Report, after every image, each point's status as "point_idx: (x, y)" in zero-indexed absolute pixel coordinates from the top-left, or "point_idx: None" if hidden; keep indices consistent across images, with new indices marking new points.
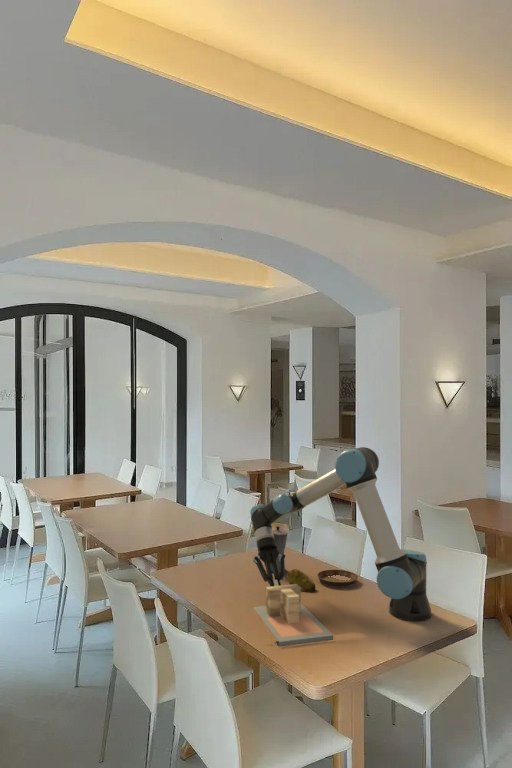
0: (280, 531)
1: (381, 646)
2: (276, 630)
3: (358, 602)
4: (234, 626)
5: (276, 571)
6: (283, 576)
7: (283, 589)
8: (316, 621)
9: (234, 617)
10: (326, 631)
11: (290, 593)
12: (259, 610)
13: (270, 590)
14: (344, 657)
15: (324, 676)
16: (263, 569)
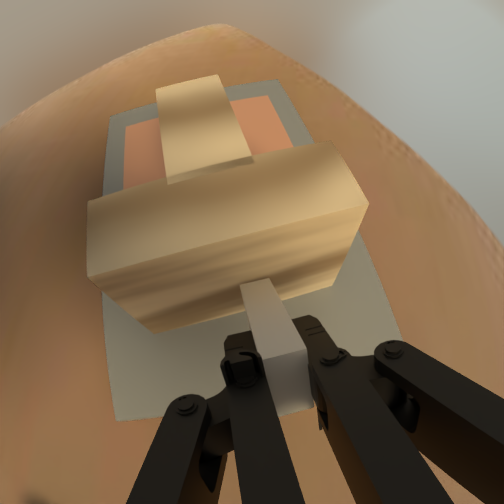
0: None
1: (37, 121)
2: (282, 125)
3: None
4: (436, 197)
5: (262, 447)
6: (171, 405)
7: (226, 157)
8: (112, 191)
9: (459, 275)
10: (116, 130)
11: (193, 109)
12: (367, 304)
13: (327, 143)
14: (133, 73)
15: (200, 35)
16: (472, 405)
